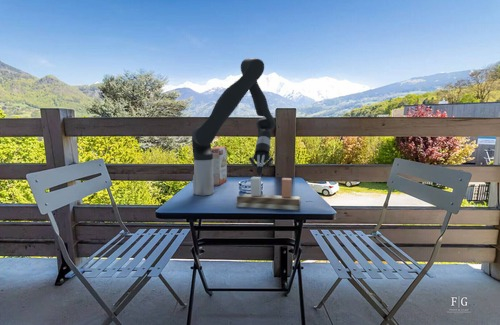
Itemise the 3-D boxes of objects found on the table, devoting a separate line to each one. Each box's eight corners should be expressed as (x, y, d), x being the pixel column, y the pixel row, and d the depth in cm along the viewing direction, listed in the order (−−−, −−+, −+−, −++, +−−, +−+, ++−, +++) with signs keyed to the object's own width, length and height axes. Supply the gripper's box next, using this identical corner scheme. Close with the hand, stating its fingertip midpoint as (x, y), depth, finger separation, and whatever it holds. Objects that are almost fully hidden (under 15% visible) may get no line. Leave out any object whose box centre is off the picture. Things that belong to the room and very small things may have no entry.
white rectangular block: (250, 195, 124) (250, 178, 123) (252, 193, 128) (252, 176, 127) (259, 196, 123) (259, 178, 122) (260, 193, 127) (260, 177, 126)
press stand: (236, 206, 115) (236, 197, 114) (244, 196, 129) (244, 188, 129) (299, 210, 110) (299, 200, 109) (300, 199, 124) (300, 191, 124)
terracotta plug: (281, 197, 121) (281, 179, 120) (282, 194, 125) (282, 177, 124) (290, 197, 120) (291, 180, 119) (291, 195, 124) (291, 178, 123)
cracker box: (220, 185, 152) (219, 148, 149) (210, 185, 153) (209, 148, 150) (227, 180, 165) (227, 146, 162) (218, 180, 167) (217, 146, 164)
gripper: (249, 142, 141) (244, 169, 131) (274, 142, 139) (272, 170, 129) (251, 151, 147) (247, 178, 137) (276, 151, 145) (273, 179, 135)
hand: (259, 174), depth 133 cm, fingers closed
